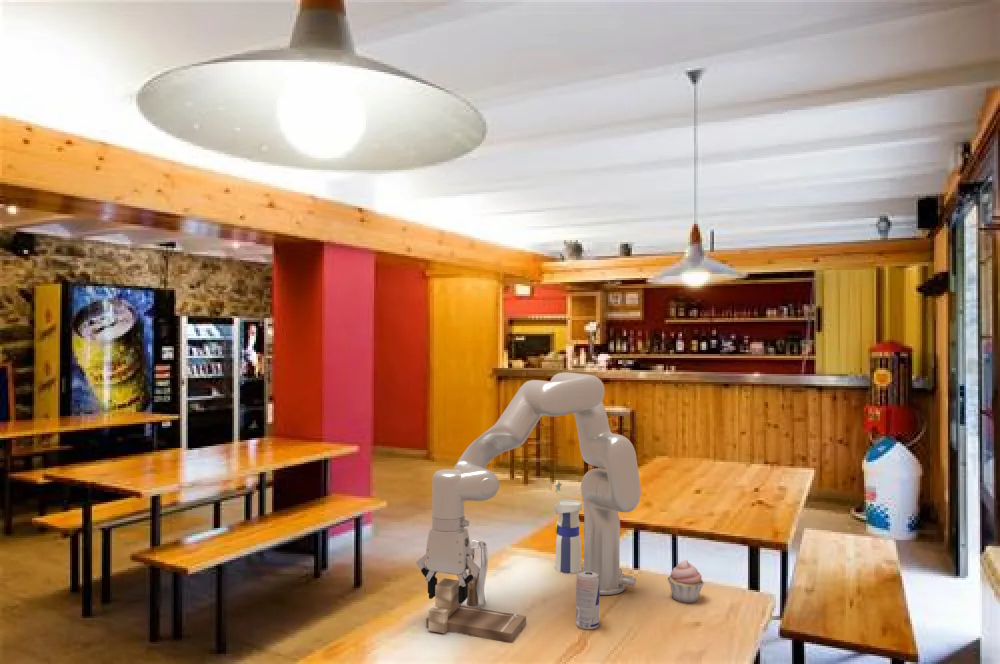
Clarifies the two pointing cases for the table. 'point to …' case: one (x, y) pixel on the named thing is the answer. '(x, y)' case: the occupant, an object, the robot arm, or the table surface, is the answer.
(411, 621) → the table surface
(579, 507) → the water bottle
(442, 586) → the stacked wooden blocks
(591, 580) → the energy drink
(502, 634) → the board
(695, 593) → the cupcake
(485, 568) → the beer glass
